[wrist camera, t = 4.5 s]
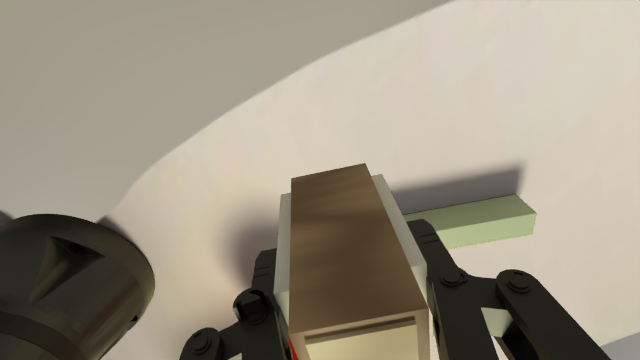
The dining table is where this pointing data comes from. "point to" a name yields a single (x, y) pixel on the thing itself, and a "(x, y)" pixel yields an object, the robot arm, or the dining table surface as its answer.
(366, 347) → the walnut block
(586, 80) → the dining table surface
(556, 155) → the dining table surface
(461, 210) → the rail
